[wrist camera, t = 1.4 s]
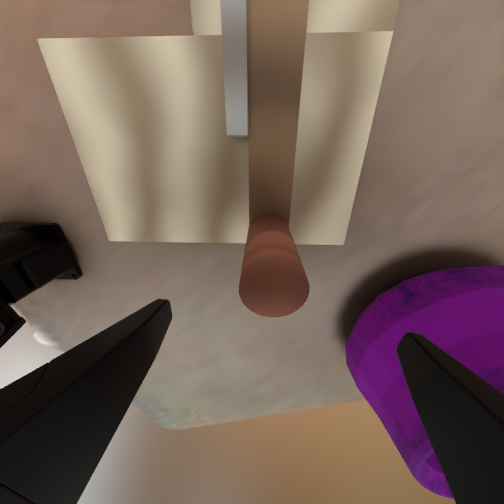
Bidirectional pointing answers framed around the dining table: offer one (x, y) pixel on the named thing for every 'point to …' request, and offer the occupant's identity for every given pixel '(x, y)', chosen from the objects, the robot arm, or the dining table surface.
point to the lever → (267, 141)
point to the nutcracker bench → (217, 125)
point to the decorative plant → (441, 334)
